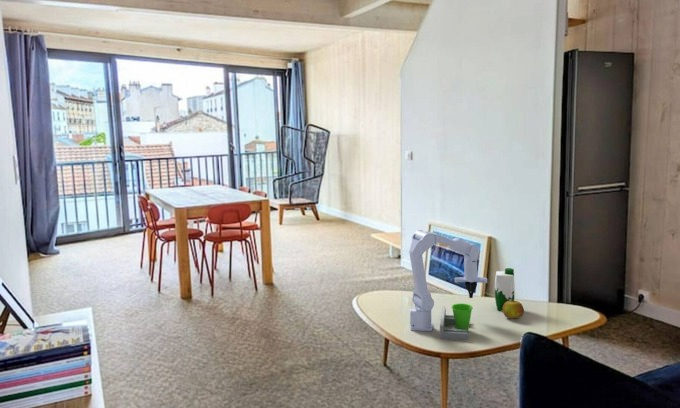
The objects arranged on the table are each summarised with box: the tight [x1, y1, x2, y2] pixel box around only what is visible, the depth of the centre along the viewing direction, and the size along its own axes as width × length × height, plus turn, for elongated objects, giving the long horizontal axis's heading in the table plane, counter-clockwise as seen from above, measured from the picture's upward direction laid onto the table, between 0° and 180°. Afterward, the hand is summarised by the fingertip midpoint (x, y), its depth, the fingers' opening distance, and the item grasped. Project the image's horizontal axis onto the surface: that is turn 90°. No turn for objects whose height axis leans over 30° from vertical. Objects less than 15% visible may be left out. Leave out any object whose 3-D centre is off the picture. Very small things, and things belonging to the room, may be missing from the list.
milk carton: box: [494, 267, 515, 312], centre depth 241 cm, size 9×9×20 cm
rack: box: [439, 306, 469, 342], centre depth 218 cm, size 12×21×7 cm, turn 166°
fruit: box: [502, 300, 525, 319], centre depth 230 cm, size 10×9×8 cm
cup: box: [451, 303, 474, 331], centre depth 217 cm, size 9×9×11 cm
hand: (470, 297), depth 230 cm, fingers closed
